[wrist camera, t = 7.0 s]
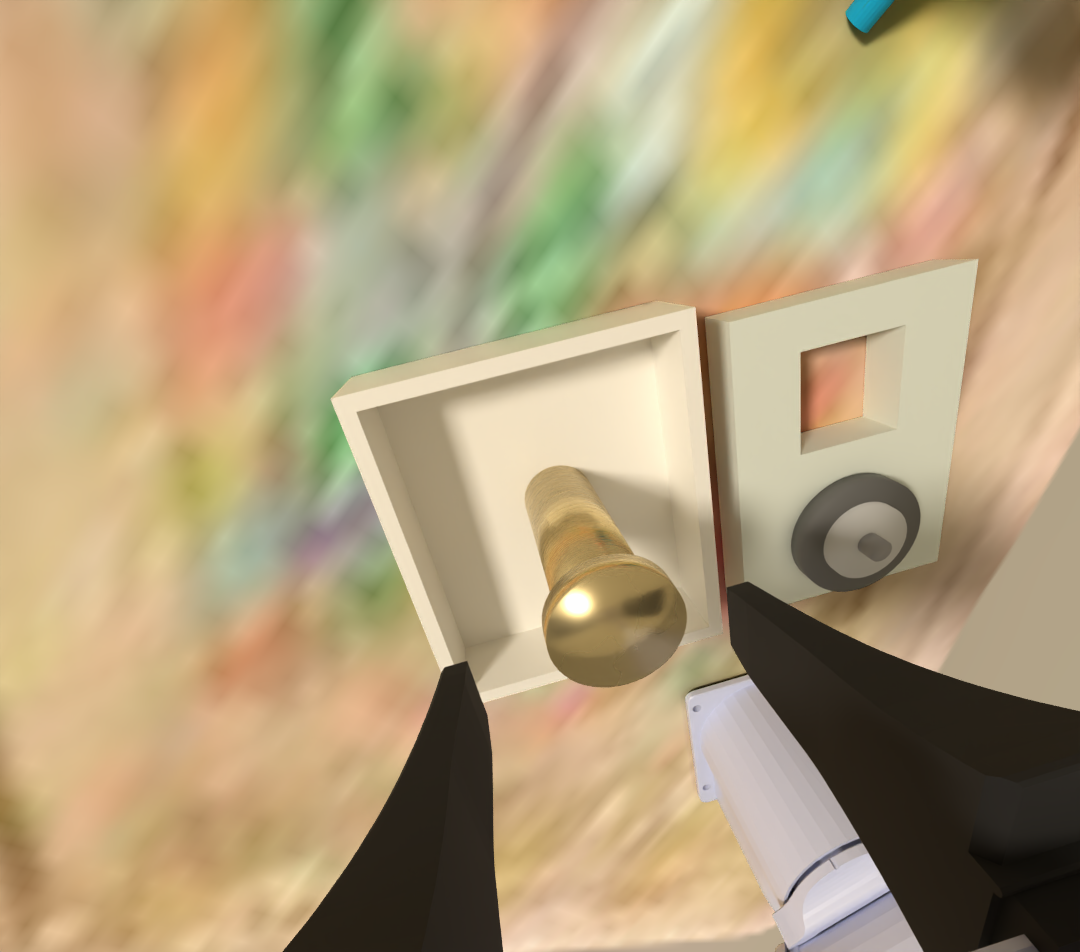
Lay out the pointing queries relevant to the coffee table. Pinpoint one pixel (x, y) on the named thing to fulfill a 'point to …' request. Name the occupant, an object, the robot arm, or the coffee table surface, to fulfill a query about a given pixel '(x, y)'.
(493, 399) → the tray
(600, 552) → the pin
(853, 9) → the gear
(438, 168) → the coffee table surface
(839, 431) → the block
